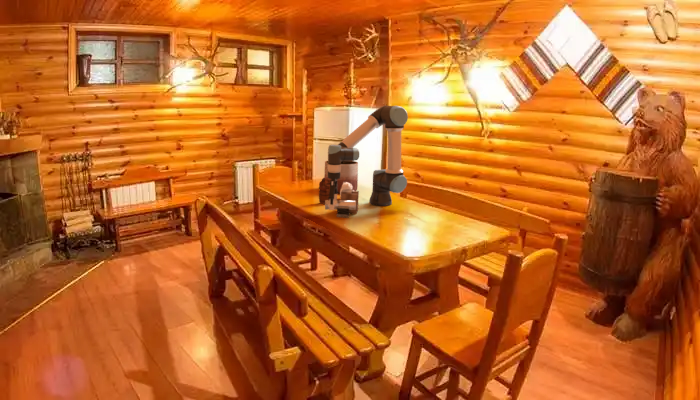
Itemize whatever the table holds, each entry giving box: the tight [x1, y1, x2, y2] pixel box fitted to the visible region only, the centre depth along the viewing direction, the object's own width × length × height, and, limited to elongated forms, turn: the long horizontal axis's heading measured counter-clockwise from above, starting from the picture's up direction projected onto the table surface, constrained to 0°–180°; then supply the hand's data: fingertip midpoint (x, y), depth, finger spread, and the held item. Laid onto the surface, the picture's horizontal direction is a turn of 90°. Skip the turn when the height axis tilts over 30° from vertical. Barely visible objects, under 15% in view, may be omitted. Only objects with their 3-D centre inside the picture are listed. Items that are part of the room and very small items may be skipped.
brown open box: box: [340, 189, 360, 215], centre depth 268 cm, size 10×10×13 cm
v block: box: [336, 206, 351, 219], centre depth 258 cm, size 7×10×6 cm
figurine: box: [339, 182, 354, 199], centre depth 301 cm, size 10×10×12 cm
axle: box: [324, 199, 356, 211], centre depth 257 cm, size 18×6×6 cm, turn 84°
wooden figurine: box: [318, 176, 333, 205], centre depth 287 cm, size 12×6×18 cm, turn 116°
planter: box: [323, 160, 359, 194], centre depth 329 cm, size 25×25×22 cm
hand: (333, 207), depth 258 cm, fingers open, 13 cm apart
